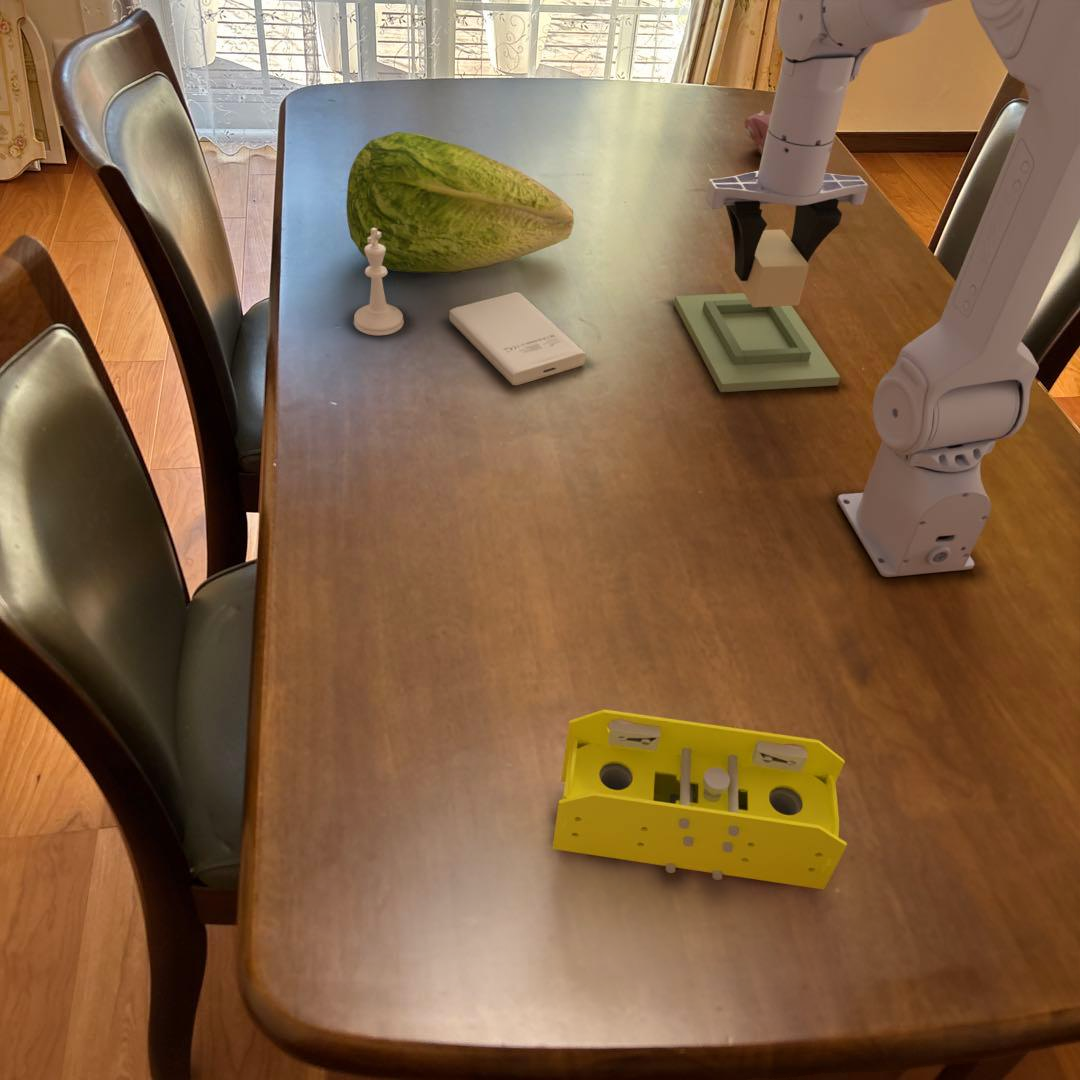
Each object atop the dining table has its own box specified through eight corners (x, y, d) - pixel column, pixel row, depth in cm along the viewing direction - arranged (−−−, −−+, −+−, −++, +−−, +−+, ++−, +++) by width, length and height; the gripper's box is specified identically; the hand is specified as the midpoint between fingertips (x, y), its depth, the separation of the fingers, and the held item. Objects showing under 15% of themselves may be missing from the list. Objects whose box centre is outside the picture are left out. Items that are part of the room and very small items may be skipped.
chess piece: (343, 326, 101) (336, 232, 94) (372, 304, 104) (367, 211, 97) (385, 341, 100) (381, 246, 93) (413, 318, 103) (410, 225, 96)
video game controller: (745, 156, 141) (735, 113, 136) (773, 138, 141) (764, 94, 135) (786, 187, 135) (777, 142, 129) (815, 167, 135) (807, 123, 129)
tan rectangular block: (798, 305, 97) (809, 265, 94) (752, 307, 96) (762, 267, 93) (773, 268, 101) (782, 229, 99) (729, 270, 101) (737, 230, 98)
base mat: (837, 385, 99) (843, 368, 98) (720, 392, 97) (724, 375, 95) (780, 299, 110) (784, 282, 109) (673, 304, 108) (676, 287, 107)
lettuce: (576, 306, 108) (602, 173, 102) (343, 280, 103) (353, 138, 96) (551, 263, 121) (572, 143, 114) (342, 239, 115) (351, 110, 108)
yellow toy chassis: (814, 816, 64) (850, 737, 58) (820, 901, 60) (860, 825, 54) (561, 779, 65) (572, 698, 59) (550, 860, 61) (561, 781, 55)
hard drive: (518, 304, 106) (584, 365, 99) (449, 323, 103) (512, 387, 95) (519, 290, 105) (586, 350, 98) (449, 308, 102) (512, 372, 94)
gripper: (859, 113, 92) (821, 251, 102) (707, 115, 90) (682, 256, 99) (893, 146, 87) (850, 288, 97) (732, 149, 85) (704, 294, 94)
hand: (766, 274), depth 98 cm, fingers closed on tan rectangular block, 4 cm apart
